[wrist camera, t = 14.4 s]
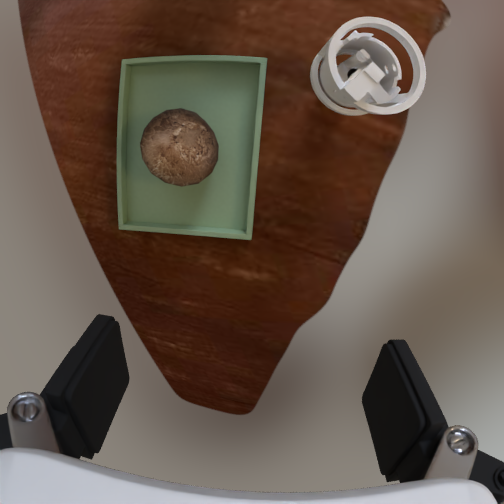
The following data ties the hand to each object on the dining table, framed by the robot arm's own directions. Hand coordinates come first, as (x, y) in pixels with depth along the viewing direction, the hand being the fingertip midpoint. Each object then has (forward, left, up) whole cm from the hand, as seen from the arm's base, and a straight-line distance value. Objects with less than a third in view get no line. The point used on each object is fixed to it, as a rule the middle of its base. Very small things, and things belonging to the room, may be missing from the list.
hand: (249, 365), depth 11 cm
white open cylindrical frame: (-13, +7, -26) cm, 30 cm away
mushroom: (-5, -8, -26) cm, 28 cm away
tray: (-5, -8, -26) cm, 28 cm away
